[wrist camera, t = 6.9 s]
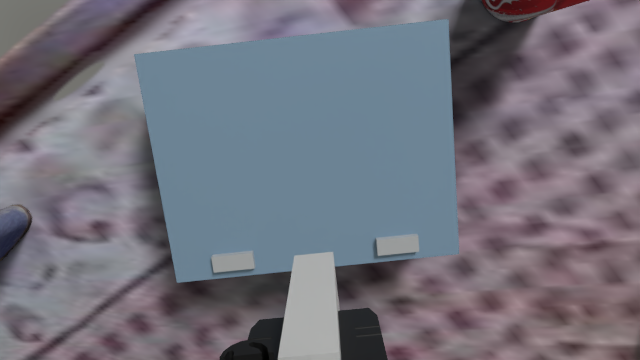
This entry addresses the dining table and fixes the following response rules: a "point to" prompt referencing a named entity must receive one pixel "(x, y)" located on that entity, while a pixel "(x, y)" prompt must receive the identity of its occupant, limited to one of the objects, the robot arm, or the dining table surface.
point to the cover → (304, 149)
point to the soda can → (525, 8)
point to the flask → (12, 227)
